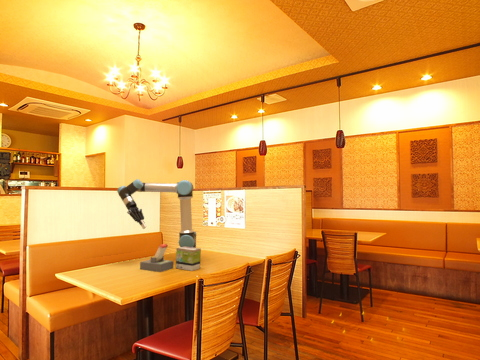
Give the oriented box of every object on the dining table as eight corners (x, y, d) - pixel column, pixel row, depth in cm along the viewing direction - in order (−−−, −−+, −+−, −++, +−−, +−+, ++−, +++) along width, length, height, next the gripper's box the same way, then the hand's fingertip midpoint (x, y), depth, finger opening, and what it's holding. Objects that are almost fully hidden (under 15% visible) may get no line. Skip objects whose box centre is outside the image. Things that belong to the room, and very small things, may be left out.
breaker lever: (152, 260, 215) (160, 244, 213) (158, 258, 220) (165, 243, 218) (155, 262, 214) (162, 246, 212) (160, 260, 219) (168, 245, 217)
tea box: (175, 268, 218) (175, 247, 219) (184, 266, 227) (184, 246, 227) (192, 271, 211) (192, 249, 212) (200, 268, 220) (201, 247, 220)
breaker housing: (140, 269, 214) (140, 257, 214) (153, 265, 227) (153, 254, 227) (160, 272, 206) (161, 259, 207) (173, 268, 219) (173, 256, 220)
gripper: (134, 205, 243) (148, 229, 235) (120, 207, 231) (135, 232, 224) (139, 199, 240) (153, 223, 232) (125, 200, 228) (140, 225, 221)
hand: (144, 227), depth 228 cm, fingers closed
